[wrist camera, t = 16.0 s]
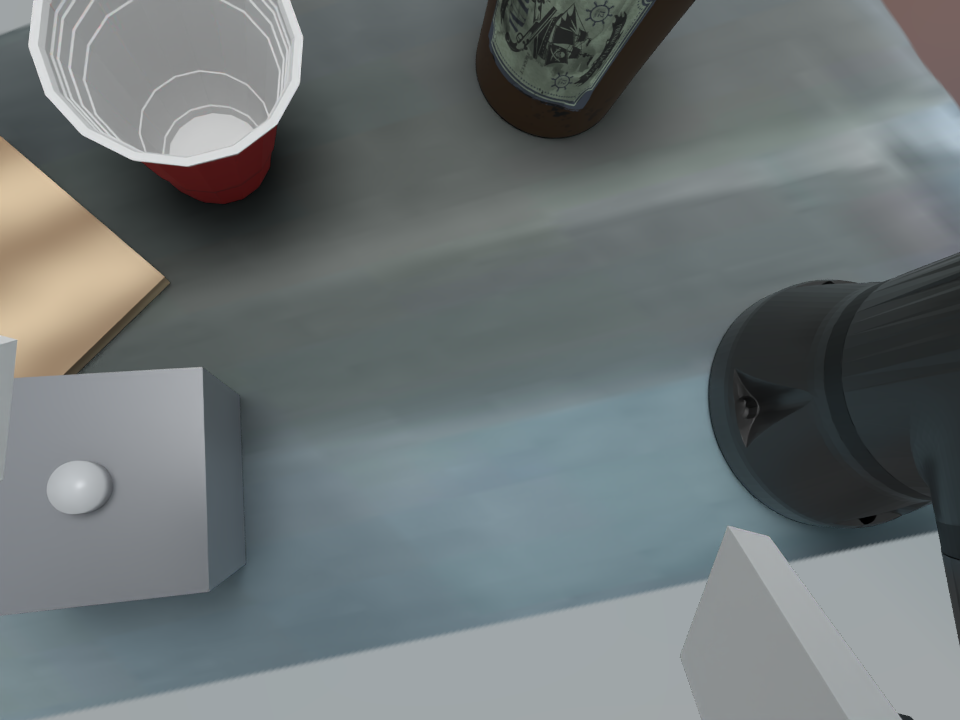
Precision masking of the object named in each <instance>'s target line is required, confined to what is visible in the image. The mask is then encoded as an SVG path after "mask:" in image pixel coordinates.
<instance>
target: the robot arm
mask: <svg viewBox="0 0 960 720" xmlns="http://www.w3.org/2000/svg"><path fill="white" fill-rule="evenodd" d="M16 349H17V339H13V338H9V337H5V336H1V335H0V480H2V479H3V476H4V467H5V457H6V447H7V437H8V428H9V418H10V408H11V398H12V388H13V379H14V369H15V359H16ZM709 402H710V412H711V419H712V424H713V428H714V432H715V435H716V438H717V441H718V444H719V446H720V448H721V451H722V453H723V455H724V457H725V459H726V461H727V463H728V464H729V466H730V468H731V469H732V471H733V472H734V474H735V475H736V476H737V478H738V479H739V480H740V481H741V483H742V484H743V485H744V486H745V487H746V488H747V489H748V490H749V492H751V493H752V494H753V495H754V496H755V497H756V498H757V499H758V500H760V501H761V502H762V503H763V504H765V505H766V506H768V507H769V508H770V509H772V510H774V511H776V512H777V513H779V514H781V515H783V516H785V517H787V518H790V519H792V520H795V521H798V522H801V523H805V524H809V525H815V526H824V527H835V528H861V527H869V526H874V525H878V524H882V523H885V522H887V521H890V520H893V519H895V518H897V517H899V516H901V515H904V514H907V513H910V512H912V511H914V510H917V509H919V508H922V507H924V506H926V505H929V504H931V503H933V509H934V514H935V518H936V523H937V528H938V534H939V539H940V543H941V552H942V556H943V562H944V567H945V572H946V577H947V582H948V588H949V593H950V598H951V603H952V608H953V613H954V618H955V624H956V629H957V634H958V639H959V644H960V252H959V253H957V254H954V255H951V256H949V257H946V258H944V259H941V260H938V261H936V262H933V263H931V264H928V265H925V266H923V267H920V268H918V269H915V270H913V271H910V272H907V273H905V274H902V275H900V276H897V277H895V278H892V279H890V280H887V281H884V282H869V283H855V282H849V281H842V280H816V281H809V282H804V283H800V284H796V285H793V286H790V287H788V288H785V289H783V290H781V291H778V292H776V293H774V294H772V295H769V296H767V297H765V298H763V299H761V300H759V301H758V302H756V303H755V304H753V305H752V306H750V307H749V308H748V309H747V310H745V311H744V312H743V313H742V314H741V315H740V316H739V317H738V318H737V319H736V320H735V322H734V323H733V324H732V325H731V327H730V328H729V330H728V331H727V332H726V334H725V336H724V338H723V339H722V341H721V343H720V346H719V348H718V350H717V353H716V356H715V359H714V362H713V366H712V371H711V377H710V387H709ZM680 658H681V661H682V664H683V667H684V670H685V672H686V675H687V678H688V681H689V684H690V687H691V690H692V693H693V696H694V699H695V702H696V705H697V707H698V711H699V714H700V716H701V719H702V720H913V719H912V718H911V717H910V716H906V715H902V714H898V713H897V712H896V710H895V709H894V708H893V706H892V705H891V704H890V702H889V701H888V700H887V698H886V697H885V695H884V694H883V692H882V691H881V690H880V688H879V687H878V686H877V684H876V683H875V681H874V680H873V679H872V677H871V676H870V675H869V673H868V672H867V670H866V669H865V668H864V666H863V665H862V664H861V662H860V661H859V659H858V658H857V657H856V655H855V654H854V653H853V651H852V650H851V649H850V647H849V646H848V644H847V643H846V641H845V640H844V639H843V637H842V636H841V635H840V633H839V632H838V631H837V629H836V628H835V626H834V625H833V624H832V622H831V621H830V620H829V618H828V617H827V615H826V614H825V613H824V611H823V610H822V608H821V607H820V606H819V604H818V603H817V601H816V600H815V599H814V597H813V596H812V595H811V593H810V592H809V591H808V589H807V588H806V586H805V585H804V584H803V582H802V581H801V579H800V578H799V577H798V575H797V574H796V573H795V571H794V570H793V568H792V567H791V566H790V564H789V563H788V562H787V560H786V559H785V557H784V556H783V555H782V553H781V552H780V550H779V549H778V548H777V546H776V545H775V544H774V542H773V541H772V539H771V538H770V537H769V536H766V535H762V534H759V533H755V532H751V531H747V530H743V529H739V528H736V527H732V526H727V529H726V532H725V534H724V537H723V540H722V542H721V545H720V548H719V551H718V553H717V556H716V559H715V562H714V564H713V567H712V570H711V572H710V575H709V578H708V581H707V583H706V586H705V589H704V592H703V594H702V597H701V600H700V602H699V605H698V608H697V611H696V614H695V616H694V619H693V622H692V624H691V627H690V630H689V633H688V635H687V638H686V641H685V643H684V646H683V649H682V652H681V654H680Z"/></svg>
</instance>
